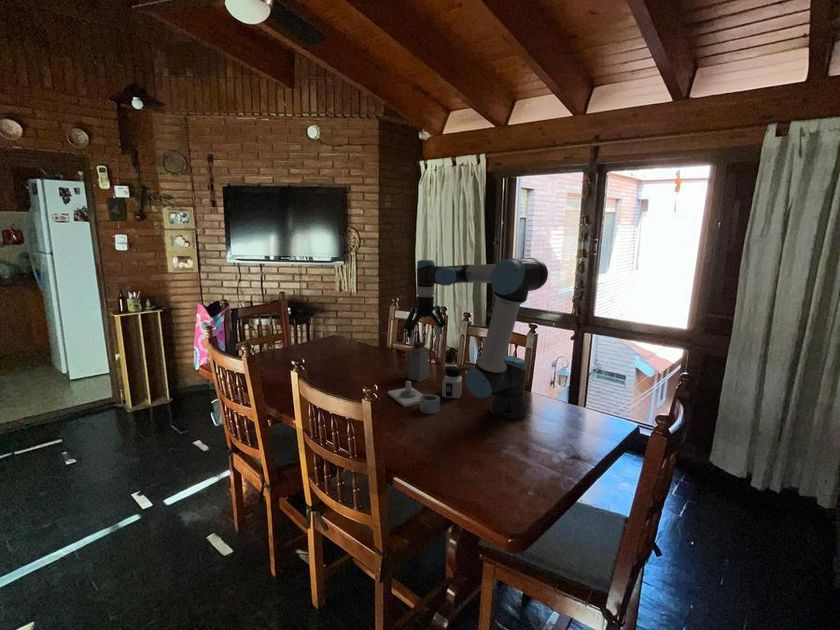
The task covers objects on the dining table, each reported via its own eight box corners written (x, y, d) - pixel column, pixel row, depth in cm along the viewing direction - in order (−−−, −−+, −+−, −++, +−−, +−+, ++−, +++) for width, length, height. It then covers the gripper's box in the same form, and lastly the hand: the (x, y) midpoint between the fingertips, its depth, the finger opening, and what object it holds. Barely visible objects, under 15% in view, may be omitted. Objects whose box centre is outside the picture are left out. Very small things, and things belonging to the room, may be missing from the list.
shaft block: (429, 401, 188) (429, 385, 187) (404, 406, 182) (404, 390, 181) (411, 389, 202) (411, 374, 200) (387, 393, 196) (387, 378, 194)
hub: (443, 411, 179) (443, 399, 178) (426, 415, 175) (426, 403, 174) (433, 404, 186) (433, 392, 185) (416, 407, 182) (416, 396, 181)
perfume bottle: (419, 381, 211) (420, 345, 208) (408, 378, 215) (409, 343, 212) (427, 378, 217) (428, 342, 213) (417, 375, 221) (417, 340, 217)
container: (459, 398, 192) (460, 370, 189) (442, 397, 193) (442, 368, 191) (461, 392, 199) (462, 364, 197) (444, 390, 201) (445, 363, 198)
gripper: (445, 292, 200) (444, 337, 205) (395, 296, 189) (395, 344, 193) (454, 295, 194) (453, 341, 198) (403, 298, 182) (403, 348, 186)
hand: (424, 343), depth 195 cm, fingers open, 13 cm apart
